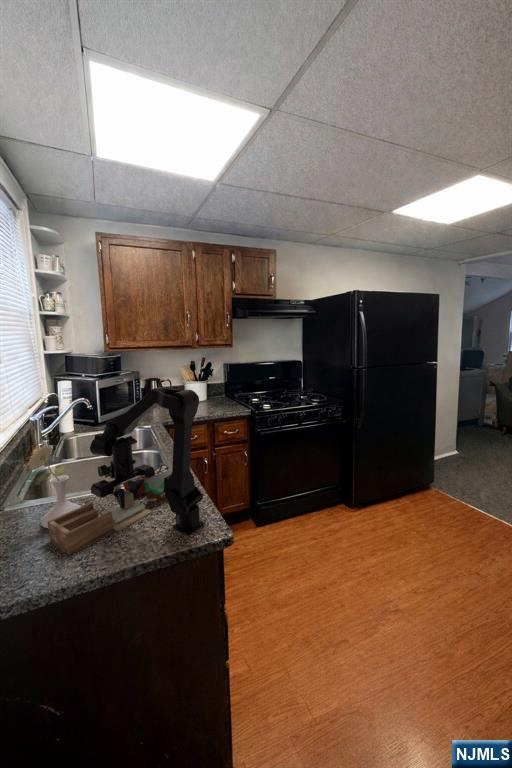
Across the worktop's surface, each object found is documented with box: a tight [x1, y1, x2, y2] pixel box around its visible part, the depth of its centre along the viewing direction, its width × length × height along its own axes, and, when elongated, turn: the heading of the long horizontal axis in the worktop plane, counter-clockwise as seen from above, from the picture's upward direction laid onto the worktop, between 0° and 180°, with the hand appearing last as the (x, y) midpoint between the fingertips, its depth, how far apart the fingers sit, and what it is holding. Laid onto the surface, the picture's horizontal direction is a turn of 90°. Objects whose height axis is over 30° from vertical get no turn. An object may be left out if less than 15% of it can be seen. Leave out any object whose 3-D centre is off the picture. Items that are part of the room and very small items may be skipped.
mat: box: [98, 507, 153, 532], centre depth 98 cm, size 13×12×1 cm
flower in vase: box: [27, 444, 82, 529], centre depth 94 cm, size 13×11×25 cm
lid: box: [99, 490, 146, 523], centre depth 98 cm, size 8×10×5 cm
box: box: [47, 502, 115, 556], centre depth 88 cm, size 11×12×6 cm
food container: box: [143, 463, 172, 505], centre depth 109 cm, size 12×6×10 cm, turn 168°
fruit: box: [122, 466, 146, 496], centre depth 114 cm, size 10×10×10 cm
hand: (127, 505), depth 99 cm, fingers closed on lid, 3 cm apart
